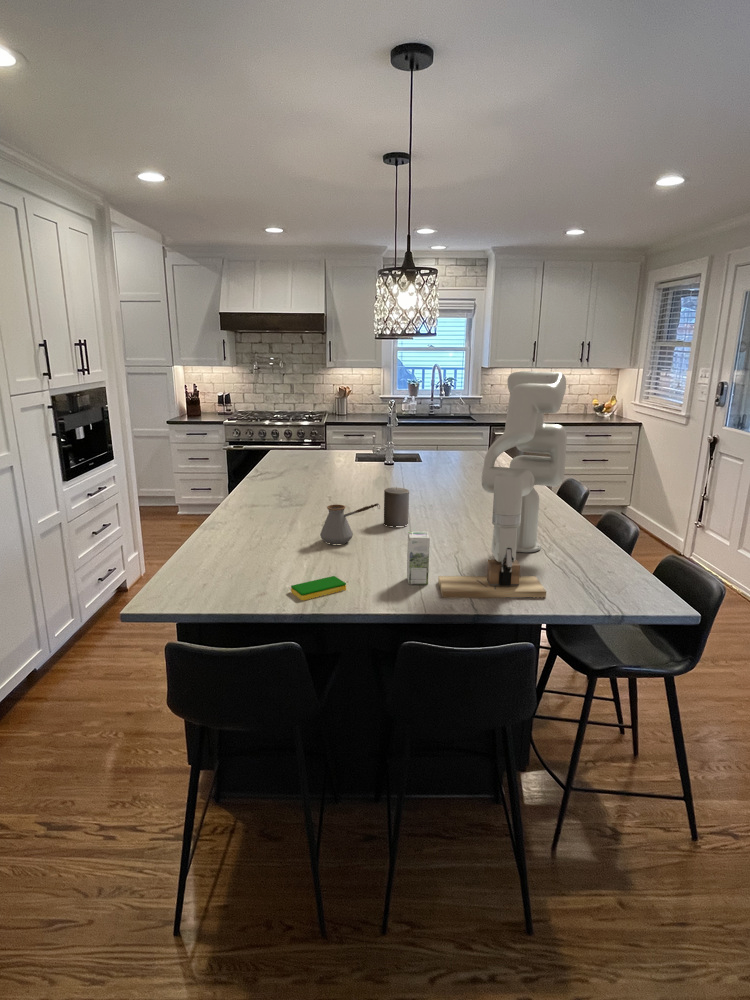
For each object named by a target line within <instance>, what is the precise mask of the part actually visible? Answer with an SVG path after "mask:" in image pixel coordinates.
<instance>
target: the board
mask: <svg viewBox="0 0 750 1000" xmlns="http://www.w3.org/2000/svg"><path fill="white" fill-rule="evenodd" d="M437 580H438V581H437V582H438V585H439V589H440V593H441V596H442V598H446V599H449V598H453V599H454V598H458V599H459V598H461V599H462V598H463V599H464V598H465V599H467V598H469V599H470V598H471V599H472V598H474V599H475V598H477V599H479V598H480V599H483V598H486V599H487V598H489V599H490V598H491V599H492V598H493V599H494V598H499V597H500V598H499V599H502V598H506V597H533V598H535V597H537V598H539V597H541V598H543V597H545V598H544V599H546V597H547V590H546V589H545V588H544V586H543V585H542V584H541V582H540V580H539V579H538V578H537V576H536V575H535V576H532V575H530V576H527V575H523V576H519V586H490V585H489V583H488V581H487V575H485V576H484V575H483V576H482V575H481V576H480V575H477V576H475V575H474V576H473V575H471V576H470V575H467V576H466V575H463V576H462V575H461V576H459V575H454V576H450V575H449V576H447V575H445V576H444V575H443V576H441V575H439V576H438V579H437ZM533 598H532V599H533ZM541 598H540V599H541ZM506 599H507V598H506Z"/></svg>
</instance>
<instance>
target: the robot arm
mask: <svg viewBox="0 0 750 1000" xmlns="http://www.w3.org/2000/svg"><path fill="white" fill-rule="evenodd" d="M506 383H507V389H508V390H507V391H508V392H509V399H508V406H507V412H506V419H505V427H504V431H503V433H502V434H501V435H500V436H498V438H497V439H496V440H495V441H493V442H492V443H491V445H490V446H489V447H488V450H487V451H486V454H485V457H484V459H483V460H484V462H483V465H482V466H483V467H482V473H481V486H482V489H483V490H484V491H485V492H487V493H490V494H493V499H492V501H493V503H492V516H491V517H492V518H491V519H492V520H491V524H492V525H493V531H492V540H491V541H492V542H491V553H492V555H493V557H494V560H497V562H500V561H501V571H499V585H503V586H509V585H511V573H512V562H514V561H515V560H516V557H517V553H535V552H538V551H541V548H542V544H541V542H538V541H537V540H538V524H539V512H540V511H539V510H540V500H541V499H540V494H539V493H538V491H537V490H536V488H535V486H542V487H543V486H544V487H558V486H560V485H562V483H563V482H564V479H565V469H566V457H567V455H566V454H567V440H568V437H567V430H566V428H565V427H564V426H563V425H561V424H557V423H556V424H555V423H545V422H544V415H545V414H553V415H554V414H556V413H558V412H559V410H560V409H561V407H562V404H563V400H564V396H565V393H566V390H567V378H566V376H565V373H562V372H560V371H536V370H527V371H525V370H523V371H514V372H511V373H510V374H509V375H508V377H507V381H506ZM514 447H516V449H517V450H518V451H520V452H523V453H524V452H525V453H533V454H535V453H536V454H548V455H549V456H542V455H540V456H539V455H527V454H526V455H523V454H522V455H517V456H515V457H513V458H512V459H511V461H510V462H509V467H505V466H504V467H503V466H495V464H496V461H497V458H498V457H499V456H500V455H502V453H504V452H506V451H507V450H508V451H509V450H510V449H512V448H514ZM503 560H506V561H503ZM504 563H506V565H504Z"/></svg>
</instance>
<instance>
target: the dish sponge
mask: <svg viewBox="0 0 750 1000" xmlns="http://www.w3.org/2000/svg"><path fill="white" fill-rule="evenodd" d="M342 590H344V591H346V590H347V582H345V581H343V580H342V579H340V578H339V577H337V576H335V575H332V576H328V577H324V578H318V579H315V580H310V581H306V582H301V583H300V582H299V583H297V584H292V585H290V592H292V593H291V594H293V595H294V596H295V597H296V596H297V597H296V598H297V599H298V600H300V601H301V600H303V601H302V602H304V601H308V600H311V598H312V599H315V597H316V598H319V596H320V597H323V596H322V595H324V596H328V595H332V594H335V593H334V592H336V593H340V592H343V591H342ZM339 591H340V592H339ZM331 593H332V594H331ZM327 594H328V595H327Z"/></svg>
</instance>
